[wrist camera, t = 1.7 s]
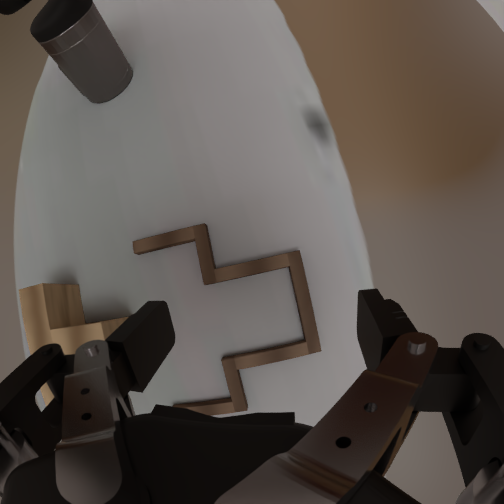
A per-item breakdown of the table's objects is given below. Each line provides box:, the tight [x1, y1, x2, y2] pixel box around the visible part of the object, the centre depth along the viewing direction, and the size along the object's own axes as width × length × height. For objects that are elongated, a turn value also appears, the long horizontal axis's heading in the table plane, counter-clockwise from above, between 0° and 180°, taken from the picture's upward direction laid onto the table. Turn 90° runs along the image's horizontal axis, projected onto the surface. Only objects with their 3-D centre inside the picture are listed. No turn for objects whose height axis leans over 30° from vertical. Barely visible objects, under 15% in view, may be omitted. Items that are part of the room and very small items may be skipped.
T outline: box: [133, 223, 321, 416], centre depth 33 cm, size 20×23×2 cm
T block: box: [19, 283, 128, 406], centre depth 30 cm, size 13×16×8 cm
